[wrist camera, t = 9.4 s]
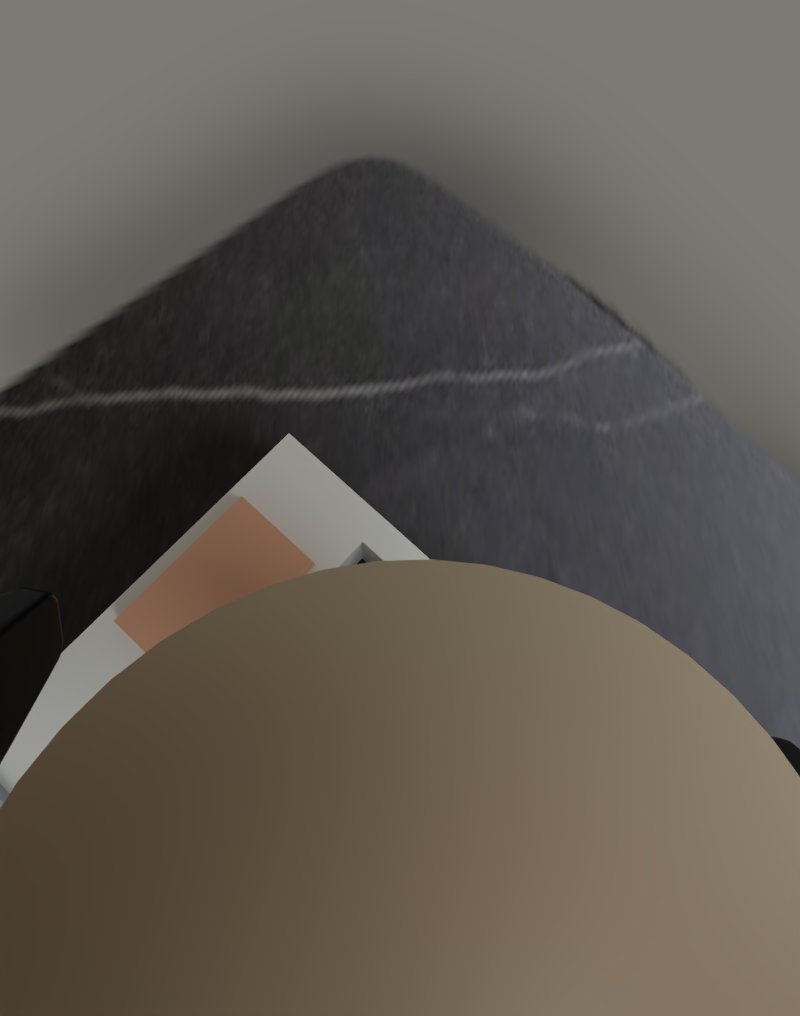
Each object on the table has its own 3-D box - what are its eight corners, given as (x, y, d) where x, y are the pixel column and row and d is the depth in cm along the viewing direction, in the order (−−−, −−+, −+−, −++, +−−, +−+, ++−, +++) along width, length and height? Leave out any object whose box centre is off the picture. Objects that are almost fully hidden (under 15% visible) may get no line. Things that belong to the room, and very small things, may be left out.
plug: (438, 828, 16) (955, 1899, 2) (270, 802, 16) (-326, 1764, 2) (459, 656, 17) (889, 632, 3) (303, 630, 17) (69, 496, 3)
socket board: (210, 1392, 13) (168, 1599, 10) (-178, 934, 14) (-310, 1002, 11) (646, 776, 16) (706, 800, 13) (298, 464, 18) (286, 427, 15)
